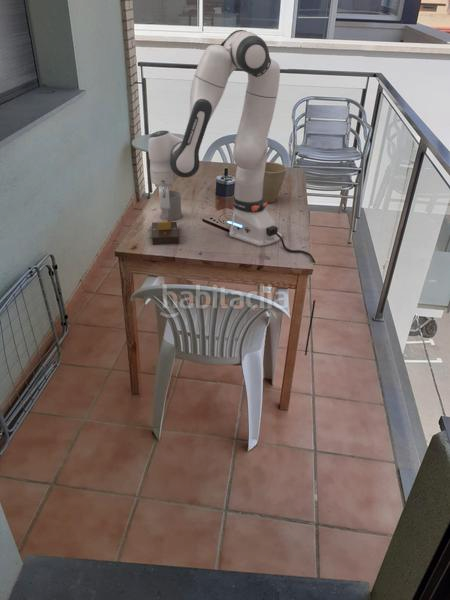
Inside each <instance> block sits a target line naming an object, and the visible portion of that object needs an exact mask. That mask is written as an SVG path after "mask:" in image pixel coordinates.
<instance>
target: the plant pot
mask: <svg viewBox="0 0 450 600" xmlns="http://www.w3.org/2000/svg"><path fill="white" fill-rule="evenodd" d="M286 173H287V167H286V165H284V164H281V163H278V162H273V161H266V166H265V173H264V181H263V195H262V197H263V199H264V203H266V202H267V204H272V203H274V202H275V201H276V199H277V197H278V195H279V193H280V190H281V188H282V186H283V183H284V179H285V175H286Z"/></svg>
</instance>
